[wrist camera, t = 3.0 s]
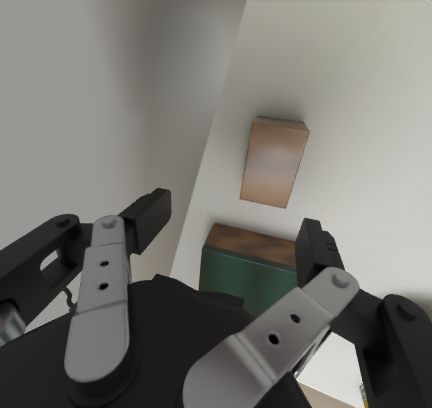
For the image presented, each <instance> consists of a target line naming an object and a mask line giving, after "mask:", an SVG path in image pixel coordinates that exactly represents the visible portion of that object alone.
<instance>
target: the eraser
mask: <svg viewBox="0 0 432 408" xmlns="http://www.w3.org/2000/svg"><path fill="white" fill-rule="evenodd" d="M309 132H310V131H309V129H308V128H307V126H306V125H305V124H304V123H303V122H296V121H289V120H282V119H274V118H267V117H260V116H258V117H257V118H256V119H255V121H254V122H253V124H252V130H251V136H250V142H249V147H248V153H247V159H246V165H245V170H244V176H243V182H242V188H241V193H240V199H242V200H247V201H251V202H256V203H261V204H266V205H271V206H275V207H280V208H285V209H286V207H287V203H288V200H289V197H290V194H291V190H292V187H293V184H294V181H295V177H296V174H297V171H298V168H299V164H300V161H301V158H302V155H303V151H304V148H305V145H306V142H307V138H308V135H309Z"/></svg>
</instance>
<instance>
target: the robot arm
mask: <svg viewBox="0 0 432 408" xmlns="http://www.w3.org/2000/svg"><path fill="white" fill-rule="evenodd" d="M170 217H171V192H170V190H166V189H161V188H157V189H156V190H154V191H153V192H152V193H151V194H147V195H144V196H142V197H140V198H139V199H137V200H136V202H134V203H132V204H131V205H130V206H129V207H127V208H126V209H125V210H124V211H123V212H121V213H120V214H119V215H117V216H116V215H109V216H104V217H101V218H99V219H98V220H96V221H95V222H94V224H92V223H89V224H88V223H87V224H85V223H80V221H79V218H78V216H76V215H74V214H63V215H59V216H56V217H53V218H51V219H50V220H48V221H46V222H45V223H43V224H42V225H40V226H39V227H37V228H35V229H34V230H32V231H31V232H29V233H27V234H26V235H25V236H23V237H21V238H19V239H18V240H16V241H15V242H13V243H11V244H10V245H8V246H7V247H5V248H4V249H2V250H0V408H312V407H311V405H310V403H309V402H308V400H307V398H306V397H305V395H304V393H303V391H302V389H301V388H300V386H299V384H298V382H297V381H296V378H297V377H298V376H299V374H300V373H301V372H302V370H303V369H304V368H305V366H306V365H307V363H308V362H309V361H310V359H311V358H312V357H313V355H314V354H315V353H316V352H317V351H318V349H319V348H320V347H321V346H322V344H323V343H324V342H325V341H326V340H327V338H328V337H329V336H330V335H331V333H332V332H334V333H336V334H338V335H339V336H341V337H343V338H344V339H346V340H348V341H350V342H351V343H353V344H354V345H355V349H356V354H357V358H358V363H359V367H360V372H361V376H362V381H363V385H364V390H365V394H366V399H367V403H368V408H432V322H431V320H430V319H429V317H428V315H427V314H426V313H425V312H424V311H423V310H422V309H421V308H420V307H419V306H418V305H417V304H415V303H414V302H412V301H411V300H409V299H407V298H405V297H402V296H399V295H395V294H389V295H386V296H385V297H384V299H383V300H382V299H380V298H378V297H376V296H373V295H371V294H369V293H367V292H365V291H363V290H362V289H360V287H359V283H358V282H357V280H356V279H355V278H354V277H353V276H352V275H351V274H349V273H348V272H346V271H345V269H344V266H343V263H342V260H341V257H340V254H339V252H338V248H337V247H336V243H335V240H334V238H333V237H332V236H331V234H330V233H329V232H327V231H322V228H321V224H320V221H318V220H313V219H308V218H304V220H303V222H302V225H301V228H300V231H299V234H298V237H297V239H296V243H295V260H296V272H297V284H298V286H296V287H295V288H293V289H292V290H291V291H290V292H288V293H287V294H286V295H285V296H283V297H282V298H281V299H280V300H278V301H277V302H276V303H275V304H274V305H272V306H271V307H270V308H269V309H267V310H266V311H265V312H264V313H262V314H261V315H260V316H259V317H257V316H256V315H255V314H254V313H253V312H252V311H250V310H249V309H247V308H246V307H244V306H243V304H244V298H241V297H237V296H234V295H230V294H227V293H223V292H211V291H197V290H194V289H193V288H191V287H189V286H187V285H186V284H184V283H182V282H180V281H179V280H177V279H174V278H170V277H166V276H163V275H159V274H156V275H155V277H154V278H153V279H152V280H144V281H138V282H134V283H132V275H131V264H130V255H131V254H132V253H135V254H138V255H141V253H142V252H143V251H144V250H145V249H146V248H147V246H148V245H149V244H150V243H151V242H152V240H153V239H154V238H155V237H156V235H157V234H158V233H159V232H160V231H161V229H162V228H163V227H164V226H165V225H166V224H167V222H168V221H169V219H170ZM55 250H56V252H57V255H58V257H57V258H56V259H55V260H54V261H52V262H51V263H50V264H49V265H48V266H46V267H45V268H44V269H43V270H42V271H41V270H40V265H41V263H42V261H43V260H44V259H45V258H46V257H47V256H49V255H50V254H51V253H52V252H54V251H55ZM81 271H82V276H81V282H80V289H79V296H78V301H77V302H76V303H75V304H73V303H72V301H71V298H72V294H71V292H70V290H69V289H68V288H66V286H67V285H68V284H69V283H70V282H71V281H72V280H73V279H74V278H75V277H76V276H77V275H78V274H79V273H80V272H81ZM62 290H63V291H64V292H65V293H66V294H67V296H68V297H67V304H68V306H69V307H70V309H69V313H67V314H65V315H63V316H61V317H59V318H57V319H54V320H52V321H50V322H48V323H46V324H44V325H42V326H40V327H38V328H35V329H33V330H31V331H29V332H27V333H25V334H24V332H25V329H26V327H27V326H28V325H29V324H30V323H31V322H32V321H33V320H34V319H35V318H36V317H37V316H38V315H39V313H41V312H42V311H43V310H44V308H46V306H47V305H48V304H49V303H50V302H51V301H52V300H53V299H54V298H55V297H56V296H57V295H58V294H59V293H60V292H61V291H62Z"/></svg>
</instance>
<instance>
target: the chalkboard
mask: <svg viewBox="0 0 432 408" xmlns="http://www.w3.org/2000/svg"><path fill="white" fill-rule="evenodd" d="M295 243H296V242H292V241H288V240H284V239H279V238H275V237H271V236H267V235H262V234H258V233H254V232H250V231H245V230H241V229H237V228H232V227H228V226H224V225H220V224H215V223H214V225H213V227H212V229H211V231H210V233H209V235H208V237H207V240H206V242H205V244H204V246H203V248H202V256H201V267H200V279H199V291H211V292H223V293H227V294H230V295H234V296H237V297H241V298H244V304H243V306H244V307H246V308H247V309H249V310H250V311H252V312H253V313H254V314H255V315H256V316H257V317H259V316H260V315H261V314H262V313H264V312H265V311H266V310H267V309H269V308H270V307H271V306H272V305H274V304H275V303H276V302H277V301H278V300H280V299H281V298H282V297H283V296H285V295H286V294H287V293H288V292H290V291H291V290H292V289H293V288H295V287H296V286H298V284H297V272H296V260H295Z"/></svg>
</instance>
